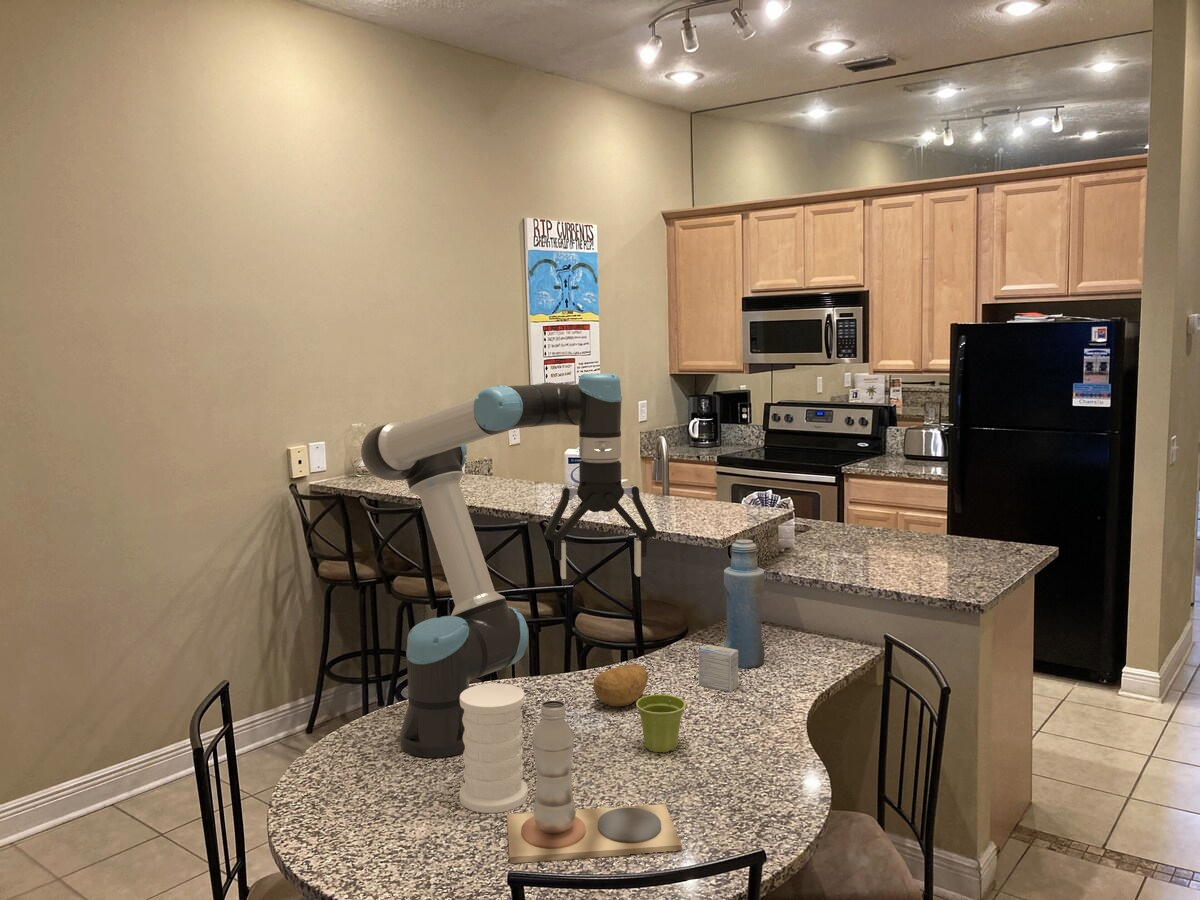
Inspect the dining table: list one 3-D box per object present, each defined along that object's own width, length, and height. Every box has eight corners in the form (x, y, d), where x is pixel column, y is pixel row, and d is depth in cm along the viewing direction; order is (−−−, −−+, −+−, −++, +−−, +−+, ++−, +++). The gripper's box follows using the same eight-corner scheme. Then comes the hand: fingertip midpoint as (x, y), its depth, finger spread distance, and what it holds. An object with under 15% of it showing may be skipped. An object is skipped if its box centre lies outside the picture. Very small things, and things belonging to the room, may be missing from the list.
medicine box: (738, 686, 213) (739, 649, 212) (730, 693, 209) (730, 655, 208) (707, 680, 217) (707, 643, 216) (698, 686, 214) (698, 649, 213)
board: (509, 863, 141) (509, 853, 140) (507, 820, 153) (507, 810, 153) (681, 851, 144) (681, 841, 144) (665, 809, 157) (665, 800, 156)
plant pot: (682, 759, 176) (682, 714, 175) (632, 755, 178) (632, 710, 177) (688, 738, 185) (688, 696, 184) (640, 735, 187) (640, 692, 186)
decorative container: (470, 818, 154) (468, 712, 152) (451, 788, 165) (449, 688, 163) (537, 804, 159) (536, 701, 157) (515, 776, 169) (514, 678, 167)
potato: (660, 700, 205) (660, 664, 204) (616, 718, 195) (616, 681, 194) (627, 689, 212) (627, 654, 211) (582, 706, 202) (582, 670, 201)
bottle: (766, 669, 225) (769, 544, 221) (725, 669, 225) (726, 544, 221) (760, 656, 234) (762, 536, 231) (720, 655, 234) (722, 536, 231)
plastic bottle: (561, 843, 143) (559, 715, 141) (524, 831, 147) (523, 707, 144) (584, 825, 149) (583, 701, 146) (548, 814, 152) (547, 693, 150)
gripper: (531, 463, 164) (533, 583, 167) (672, 461, 168) (672, 578, 170) (529, 458, 172) (530, 573, 174) (664, 456, 175) (664, 568, 177)
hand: (600, 576), depth 172 cm, fingers open, 13 cm apart
